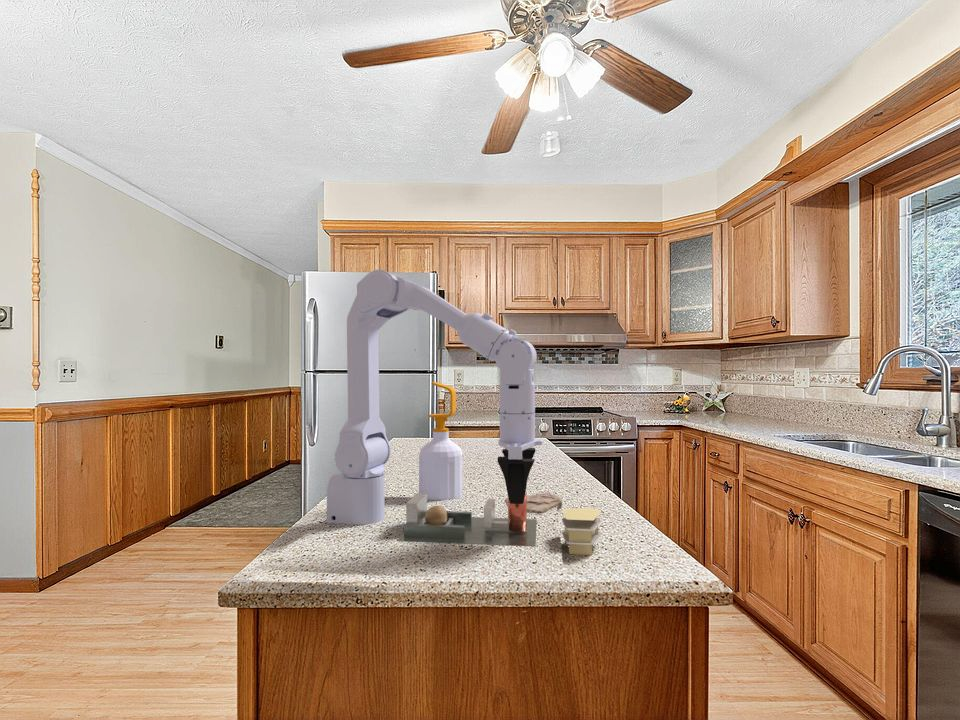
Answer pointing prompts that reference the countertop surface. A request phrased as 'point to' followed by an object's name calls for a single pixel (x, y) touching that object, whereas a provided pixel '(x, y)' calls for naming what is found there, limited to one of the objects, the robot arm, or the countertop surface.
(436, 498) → the soap bottle
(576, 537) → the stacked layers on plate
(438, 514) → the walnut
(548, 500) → the stone
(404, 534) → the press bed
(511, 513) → the ram
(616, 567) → the countertop surface
